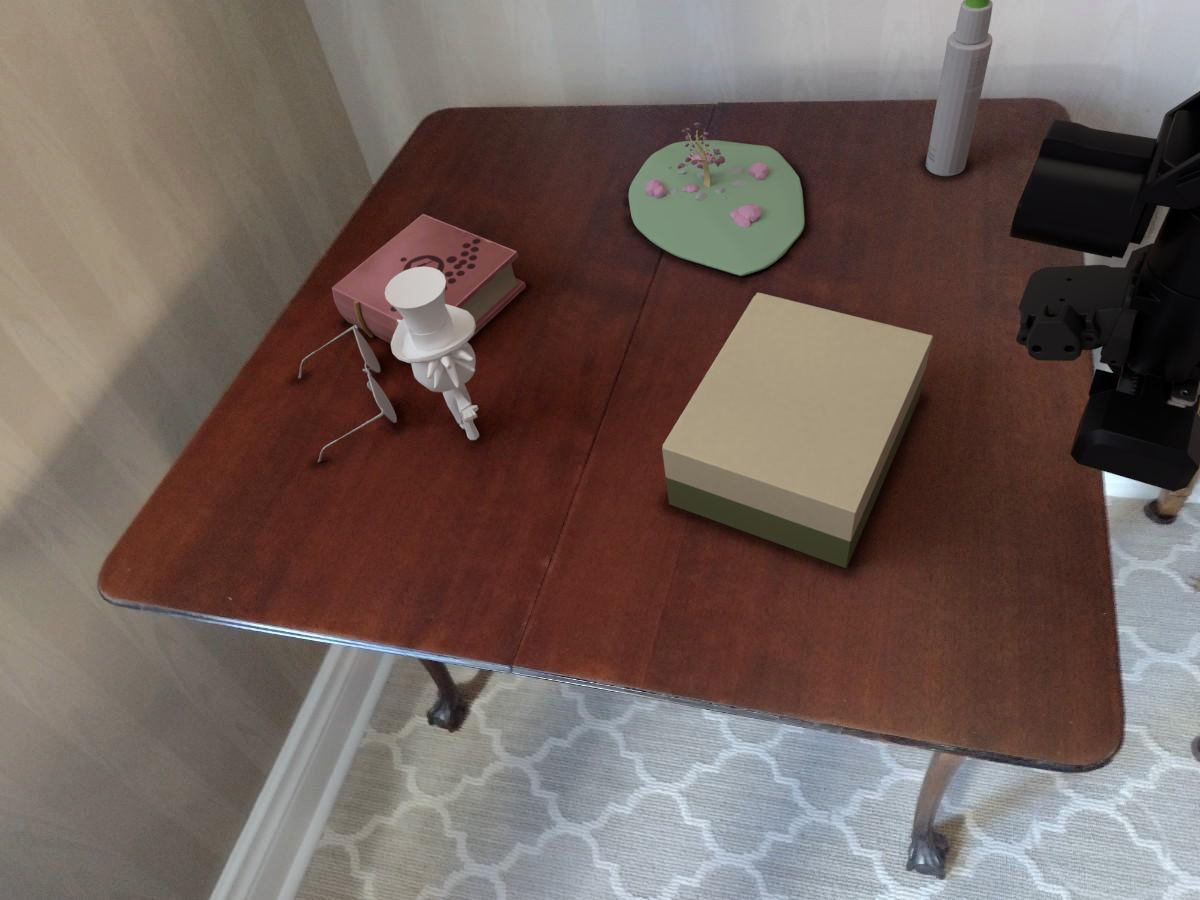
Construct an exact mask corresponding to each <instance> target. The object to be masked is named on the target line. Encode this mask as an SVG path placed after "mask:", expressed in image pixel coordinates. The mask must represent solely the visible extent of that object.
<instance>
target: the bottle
mask: <svg viewBox="0 0 1200 900" xmlns="http://www.w3.org/2000/svg"><path fill="white" fill-rule="evenodd" d="M993 5H994V3H993V1H992V0H963V1H962V2H961V3H960V7H959V12H958V14H957V15H958V16H957V21H956V25H955V31H953V32H951V33H950V35H948V37H947V42H946V47H945V52H944V59H943V64H942V68H941V75H940V80H939V85H938V91H937V97H936V103H935V104H936V105H935V108H934V109H935V110H934V115H933V121H932V126H931V130H930V131H931V132H930V138H929V143H928V149H927V154H926V160H925V167H926V169H927V170H928V171H929V172H930V173H931V174H934V175H935V176H940V177H953V176H956V175H959V174H961V173H962V172H964V170H965V168H966V165H967V161H968V157H969V151H970V148H971V142H972V137H973V133H974V128H975V124H976V119H977V115H978V110H979V106H980V101H981V98H982V97H981V96H982V91H983V86H984V83H985V77H986V73H987V70H988V69H987V68H988V64H989V59H990V55H991V51H992V45H993V36H992V35H991V34H990V33H989V30H990V25H991V21H992V12H993Z"/></svg>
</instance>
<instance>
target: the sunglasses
mask: <svg viewBox="0 0 1200 900" xmlns="http://www.w3.org/2000/svg"><path fill="white" fill-rule="evenodd" d="M350 331H353V333H354V336H355V340H356V342H357V346H358V349H359V351H360V354H361V357H362V358H363V361H364V368H362V372H364V373H365V374H366V375H367V378H368V381H367V383H366V386H367V388H368V389H369V390H370V391H371V392H372V396H373V398H374V400H375V402H376V405H377V406H378V408H379V410H380V411H381V412H380V413H379V414H378V415H376V416H374V417H373V418H371V419H369V420H367V421H366V422H363V424H361V425H359V426H358V427H356V428H354V429H352V430H351V431H349V432H347V433H346V434H344V435H342V436H341V437H339V438H338V439H335V440H333V441H331V442H330V443H328V444H326V445H324V446H323V448H322V449H321V451H320V453H319V457H318V460H317V463H321V462H322V458H323V452H324V451H325V450H326V449H327V448H328V447H331V446H332V445H334V444H335V443H337V442H338V441H340V440H342V439H343V438H344V437H346V436H348V435H350V434H352V433H354V432H356V431H358V430H359V429H361V428H363V427H365V426H367V425H368V424H370V423H372V422H374V421H376V420H377V419H379V418H381V417H382V416H385V417H386V418H387V419H388V420H389V421H390V422H391V423H393V424H395V423H397V420H398V419H397V414H396V412H395V409H394V407H393V405H392V403H391V401H390V400H389V398H388V397H387V395H386V393H385V391H384V390H383V389H382V387H381V386H380V385H379V383H378V382H377V381H376V379H375V378H374V377H373V373H372V372H374V373H377V374H379V373H380V372H381V366H380V363H379V361H378V358H377V357H376V354H375V353H374V351H373V349H372V348H371V346H370V345H369V343H368V342H367V340H366V339H365V337H364V336H363V335H362V333H361V332H360V331H359V327H357V326H356V325H352V326H351V327H349V328H348V329H346V330H345V331H343V332H342V333H340V334H339V335H337V336H336V337H335V338H333V339H331V340H330V341H328V342H327V343H325V344H324V345H322V346H321V347H319V348H318V349H316V350H315V351H313V352H311V353H310V354H308V355H307V356H305V357H304V358H303V359H302V360H301V362H300V365H299V372H298V377H297V379H301V378H302V369H303V364H304V362H305V361H306V360H307V359H309V358H310V357H311V356H313V355H314V354H315V353H316V352H319V351H320V350H321V349H323V348H324V347H326V346H327V345H330V344H331V343H332V342H334V341H336V340H337V339H339V338H340V337H343V336H344V335H345V334H347V333H349V332H350ZM367 367H369V368H367ZM370 371H372V372H370Z"/></svg>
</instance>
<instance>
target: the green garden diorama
mask: <svg viewBox="0 0 1200 900" xmlns="http://www.w3.org/2000/svg"><path fill="white" fill-rule="evenodd" d="M693 125H694V126H695V127H700V126H701V122H699V121H698V122H695V123H693ZM691 130H692V129H691V128H690V127H687V128H685V129H681V133H685V132H686V133H687V135H685V140H684V141H677V142H673V143H671V144H668V145H666V146H665V147H662V148H661V149H659V150H657V151H655V152H654V153H652V154H651V155H650V156H649V157H648V158H647V159H646V160H645V162H644V163H643V165H642V166H641V168H640V169H639V170H638V172H637V174H636V175H635V177H634V178H633V180H632V182H631V183H630V186H629V189H628V204H629V212H630V217H631V221H632V223H633V225H634V226H635V228H636V229H637V230H638V231H639V232H640V233H641V234H642V235H643V236H644V237H645V238H646V239H647V240H649V241H650V242H651V243H653V244H654V245H655V246H657V247H658V248H660V249H662V250H664V251H665V252H667V253H668V254H670V255H673V256H675V257H677V258H680V259H682V260H685V261H689V262H693V263H696V264H699V265H702V266H706V267H709V268H712V269H716V270H719V271H722V272H725V273H728V274H732V275H735V276H738V277H744V276H747V275H750V274H753V273H756V272H759V271H762V270H764V269H766V268H769V267H771V266H772V265H773V264H775V263H776V262H777V261H778V260H780V259H781V258H782V257H783V256H784V255H785V254H786V253H787V252H788V250H789V249H790V248H791V247H792V245H793V244H794V243H795V242H796V241H797V239H798V238H799V237H800V236H801V235H802V233H803V231H804V228H805V208H804V196H803V195H804V194H803V188H802V184H801V179H800V177H799V175H798V174H797V173H796V171H795V169H794V168H793V167H792V166H791V165H790V164H789V162H787V160H786V159H785V158H784V157H783V156H782V155H781V153H780V152H779V151H777V150H776V149H774V148H772V147H770V146H769V145H762V144H761V145H760V144H753V143H750V144H749V143H744V142H736V141H735V142H733V141H727V140H718V139H708V138H707V136H708V135H709V134H710V132H708V131H707V128H703V134H701V135H700V136H699V135H698V133H699V132H698V131H696V134H695V135H694V138H695V140H692V136H691V134H690V132H687V131H691ZM701 138H702V139H701Z"/></svg>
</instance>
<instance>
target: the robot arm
mask: <svg viewBox="0 0 1200 900" xmlns="http://www.w3.org/2000/svg"><path fill="white" fill-rule="evenodd" d="M1158 206H1159V207H1163V208H1168V210H1167V212H1166V214H1165V216H1164V218H1163V221H1162V223H1161V225H1160V227H1159V230H1158V233H1157V235H1156V237H1155V239H1154V241H1153V243H1149V244H1146V245H1144V246H1141V247H1139V248H1137V249H1133V250H1131V253H1130V256H1129V258H1128V260H1127V263H1126V265H1125V267H1124V266H1123V267H1121V266H1116V267H1115V266H1109V265H1107V264H1083V265H1066V266H1065V265H1063V266H1049V267H1048V266H1047V267H1043V268H1039V269H1037V270H1036V271H1034V272H1032V274H1031V275H1030V276H1029V278H1028V281H1027V284H1026V286H1025V288H1024V291H1023V294H1022V296H1021V300H1020V302H1019V304H1018V311H1019V318H1020V320H1019V325H1020V326H1019V329H1018V332H1017V335H1016V337H1015V340H1016V343H1017V344H1019V345H1021V346H1025V348H1026V349H1027V354H1028V355H1029V356H1030V357H1031V358H1033V359H1034V360H1036V361H1048V362H1049V361H1051V362H1052V361H1054V362H1055V361H1060V362H1061V361H1062V362H1072V361H1075V360H1077V359H1078V358H1079V357H1080V356H1082V355H1081V354H1082V351H1093V350H1098V349H1101V350H1100V353H1099V354H1100V359H1099V363H1101V364H1105V365H1107V366H1108V368H1109V370H1110V371H1106V370H1104V369H1099V368H1095V371H1094V374H1093V377H1092V381H1091V384H1090V387H1089V390H1088V400H1087V402H1086V404H1085V406H1084V409H1083V412H1082V415H1081V417H1080V420H1079V423H1078V426H1077V429H1076V432H1075V436H1074V439H1073V442H1072V446H1071V450H1070V454H1069V455H1070V456H1071V457H1072V458H1073V460H1074V462H1076V463H1077V464H1078V465H1080V466H1085V467H1087V468H1091V469H1094V470H1098V471H1102V472H1105V473H1108V474H1112V475H1115V476H1119V477H1121V478H1122V477H1123V478H1126V479H1129V480H1131V481H1136V482H1140V483H1143V484H1146V485H1150V486H1152V487H1156V488H1161V489H1163V490H1167V491H1170V492H1173V493H1174V492H1177V491H1180V490H1184V489H1186V488H1187V487H1188V486H1189V484H1190V482H1191V481H1192V480H1193V478H1194V477H1195V476H1196V474H1197V472H1198V471H1199V470H1200V415H1199V414H1198V413H1199V406H1200V90H1199V91H1197V92H1195V93H1194V94H1193V95H1191V96H1190V97H1188V98H1186V99H1185V100H1183V101H1182V102H1181V103H1179V104H1178V105H1176V106H1174V107H1173V108H1172V109H1170V110H1168V111H1167V112H1166V113H1165V114H1164V116H1163V117H1162V122H1161V125H1160V127H1159V131H1158V134H1157V137H1156V138H1154V137H1148V136H1142V135H1135V134H1129V133H1122V132H1116V131H1109V130H1104V129H1097V128H1092V127H1090V126H1086V125H1084V124H1081V123H1079V122H1075V121H1068V120H1062V119H1054V120H1052V121H1050V123H1049V126H1048V128H1047V130H1046V133H1045V135H1044V137H1043V139H1042V142H1041V146H1040V149H1039V152H1038V156H1037V158H1036V161H1035V163H1034V165H1033V167H1032V170H1031V172H1030V175H1029V178H1028V179H1027V182H1026V184H1025V186H1024V189H1023V191H1022V193H1021V195H1020V198H1019V200H1018V203H1017V205H1016V208H1015V211H1014V214H1013V218H1012V222H1011V225H1010V231H1009V237H1010V238H1013V239H1019V240H1023V241H1028V242H1033V243H1037V244H1042V245H1047V246H1053V247H1058V248H1061V249H1066V250H1071V251H1076V252H1081V253H1086V254H1090V255H1095V256H1100V257H1105V258H1110V259H1112V258H1117V259H1124V256H1125V255H1126V252H1127V250H1128V248H1129V246H1130V244H1135V245H1141V244H1142V242H1143V240H1144V238H1145V236H1146V234H1147V232H1148V230H1149V227H1150V224H1151V222H1152V219H1153V217H1154V214H1155V212H1156V210H1157V207H1158Z"/></svg>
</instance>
